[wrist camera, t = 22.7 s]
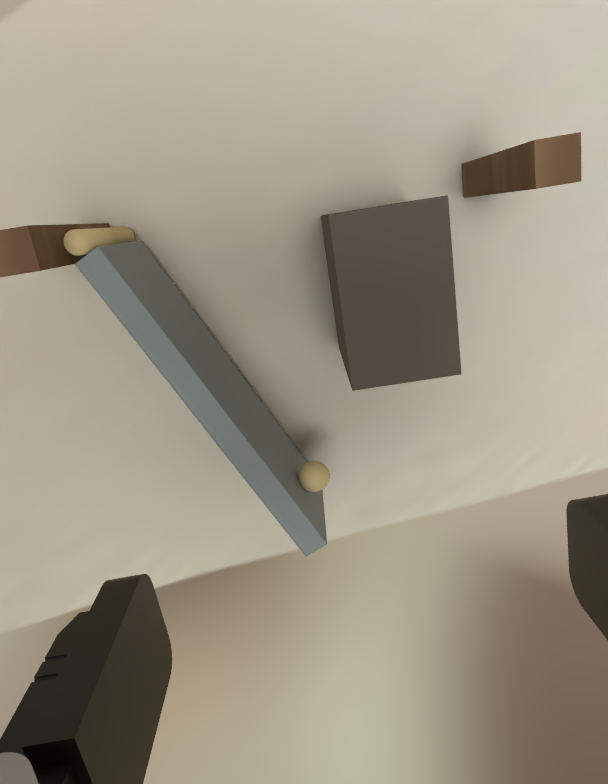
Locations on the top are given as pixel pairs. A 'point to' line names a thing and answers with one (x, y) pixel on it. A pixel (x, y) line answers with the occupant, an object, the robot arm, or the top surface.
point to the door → (204, 378)
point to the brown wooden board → (480, 177)
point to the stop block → (394, 292)
